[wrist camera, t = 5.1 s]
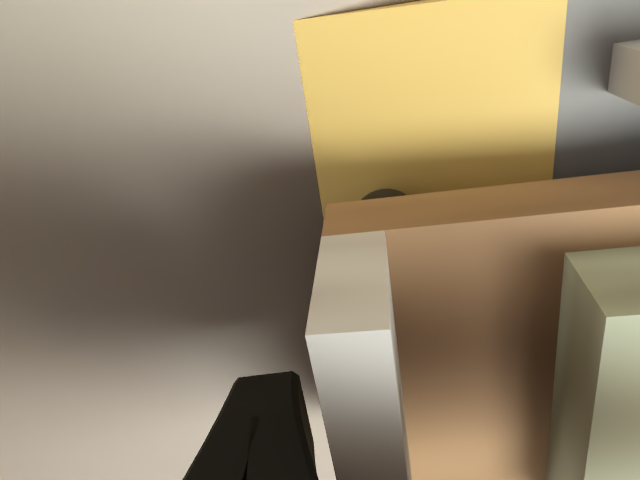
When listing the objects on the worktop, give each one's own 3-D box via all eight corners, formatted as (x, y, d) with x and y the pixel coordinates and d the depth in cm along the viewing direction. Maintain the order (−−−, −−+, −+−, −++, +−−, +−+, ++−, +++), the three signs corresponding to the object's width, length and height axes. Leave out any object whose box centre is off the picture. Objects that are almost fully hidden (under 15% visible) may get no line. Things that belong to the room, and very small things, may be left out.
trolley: (741, 399, 12) (945, 643, 8) (369, 416, 14) (370, 633, 9) (835, 115, 9) (1267, 267, 5) (331, 174, 10) (305, 335, 6)
